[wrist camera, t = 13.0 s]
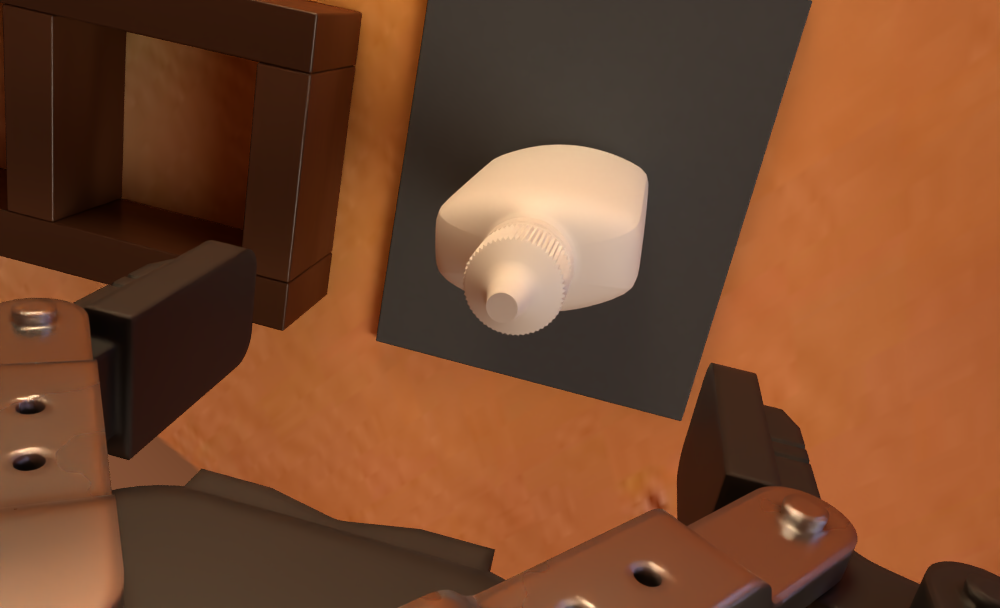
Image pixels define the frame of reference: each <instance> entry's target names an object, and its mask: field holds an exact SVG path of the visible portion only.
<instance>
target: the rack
mask: <svg viewBox="0 0 1000 608" xmlns="http://www.w3.org/2000/svg"><path fill="white" fill-rule="evenodd" d="M0 3H4V5H3V37H4V79H5V121H6V163H7V170H5V169H1V168H0V256H3V257H7V258H11V259H14V260H18V261H22V262H26V263H30V264H33V265H37V266H41V267H45V268H48V269H52V270H56V271H60V272H63V273H67V274H71V275H75V276H78V277H82V278H86V279H90V280H93V281H97V282H101V283H105V284H108V285H112V282H114V281H116V280H118V279H120V278H122V277H124V276H125V277H128V274H130V273H132V272H134V271H135V270H137V269H139V268H141V267H143V266H145V265H147V264H151V263H155V262H160V261H165V260H169V259H174V258H176V257H178V256H180V255H182V254H184V253H186V252H187V251H189V250H191V249H193V248H195V247H197V246H199V245H200V244H202V243H204V242H206V241H208V240H215V241H219V242H223V243H227V244H231V245H235V246H239V247H243V248H247V249H251V250H252V251H253V252H254V253H255V256H256V262H257V268H256V282H255V295H254V308H253V321H252V323H255V324H259V325H263V326H266V327H270V328H274V329H278V330H281V331H283V330H285V329H286V328H287V327H288V326H289V325H291V324H292V323H293V322H294V321H295V320H297V319H298V318H299V317H300V316H301V315H303V314H304V313H305V312H306V311H307V310H309V309H310V308H311V307H312V306H314V305H315V304H316V303H317V302H318V301H320V300H321V299H322V298H323V297H324V296H326V294H327V288H328V280H329V272H330V265H331V257H332V253H331V251H332V247H333V239H334V232H335V224H336V216H337V208H338V200H339V192H340V184H341V176H342V168H343V160H344V152H345V144H346V136H347V128H348V120H349V112H350V104H351V97H352V89H353V81H354V73H355V67H354V66H353V65H355V64H356V58H357V50H358V42H359V34H360V26H361V18H362V13H360V12H357V11H352V10H348V9H343V8H339V7H334V6H329V5H325V4H320V3H316V2H311V1H306V0H0ZM126 32H130V33H135V34H139V35H143V36H148V37H152V38H157V39H161V40H165V41H170V42H174V43H178V44H183V45H187V46H192V47H196V48H200V49H205V50H209V51H213V52H218V53H222V54H227V55H231V56H235V57H240V58H244V59H248V60H253V61H257V62H259V63H258V64H257V74H256V86H255V98H254V110H253V122H252V134H251V146H250V158H249V170H248V182H247V193H246V205H245V217H244V229H243V230H242V229H238V228H234V227H230V226H226V225H222V224H218V223H214V222H210V221H206V220H202V219H198V218H194V217H190V216H186V215H182V214H179V213H175V212H171V211H167V210H163V209H159V208H155V207H151V206H147V205H143V204H139V203H135V202H131V201H127V200H123V199H120V198H121V197H122V163H123V127H124V91H125V55H126Z"/></svg>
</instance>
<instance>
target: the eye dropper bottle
mask: <svg viewBox="0 0 1000 608" xmlns="http://www.w3.org/2000/svg"><path fill="white" fill-rule="evenodd" d="M647 199H648V179H647V175H646V173H645V172H644V171H643V170H642V169H641V168H640V167H638V166H637V165H635V164H633V163H632V162H630V161H627V160H625V159H623V158H621V157H618V156H616V155H613V154H611V153H608V152H605V151H601V150H597V149H593V148H588V147H583V146H575V145H543V146H535V147H530V148H525V149H520V150H517V151H513V152H510V153H507V154H504V155H502V156H499V157H497V158H495V159H493V160H492V161H491V162H490V163H489V164H487V165H486V166H485V167H484V168H483V169H482V170H480V171H479V172H478V173H477V174H476V175H475V176H473V177H472V178H471V179H470V180H469V181H468V182H467V183H466V184H464V185H463V186H462V187H461V188H460V189H459V190H458V191H457V192H456V193H454V194H453V195H452V196H451V197H450V198H449V199H448V200H447V201H446V202H445V203H444V204H443V205H442V206H441V208H440V210H439V213H438V216H437V219H436V233H435V253H436V264H437V267H438V270H439V272H440V273H441V274H442V276H443V277H444V278H445V279H446V280H448V281H449V282H451V283H452V284H454V285H455V286H457V287H459V288H460V289H462V290H464V291H465V293H464V295H465V296H466V300H467V301H468V303H467V304H468V305H469V306H470V309H471V310H473V313H474V314H475V315H476V317H477V318H479V321H482V322H483V324H484V325H487V326H488V327H490V328H492V330H496V331H497V332H501V333H502V334H504V333H506V334H507V335H509V334H511V335H515V334H516V335H518V336H519V335H520V334H521V335H524V334H529V333H530V332H531V333H534V332H535V331H539V329H543V328H544V326H548V323H551V322H552V320H553V319H555V317H556V315H558V313H559V311H566V310H573V309H579V308H584V307H588V306H592V305H596V304H600V303H603V302H606V301H609V300H612V299H614V298H616V297H618V296H621V295H623V294H625V293H626V292H627V291H629V290H630V289H631V288H632V287H633V285H634V283H635V281H636V278H637V276H638V271H639V266H640V259H641V252H642V244H643V236H644V228H645V219H646V210H647Z"/></svg>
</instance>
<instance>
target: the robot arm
mask: <svg viewBox="0 0 1000 608" xmlns="http://www.w3.org/2000/svg"><path fill="white" fill-rule="evenodd" d="M256 268H257V262H256V256H255V253H254V252H253V251H252V250H251V249H247V248H243V247H239V246H235V245H231V244H227V243H223V242H219V241H215V240H208V241H206V242H204V243H202V244H200V245H199V246H197V247H195V248H193V249H191V250H189V251H187V252H186V253H184V254H182V255H180V256H178V257H176V258H174V259H169V260H165V261H160V262H155V263H151V264H147V265H145V266H143V267H141V268H139V269H137V270H135V271H134V272H132V273H130V274H128V277H125V276H124V277H122V278H120V279H118V280H116V281H114V282H112V285H107V286H105V287H103V288H101V289H99V290H97V291H95V292H93V293H91V294H89V295H88V296H86V297H84V298H82V299H80V300H78V301H76V302H74V303H71V302H67V301H63V300H58V299H50V298H24V299H16V300H10V301H6V302H2V303H0V608H1000V577H999V576H997V575H995V574H993V573H991V572H988V571H986V570H984V569H981V568H978V567H975V566H972V565H968V564H964V563H959V562H947V561H944V562H938V563H935V564H932V565H931V566H930V567H929V568H928V569H927V571H926V573H925V575H924V577H923V579H922V581H921V583H920V584H918V583H916V582H914V581H911V580H909V579H907V578H905V577H903V576H900V575H898V574H896V573H894V572H892V571H889V570H887V569H885V568H883V567H881V566H879V565H877V564H875V563H873V562H871V561H869V560H868V559H866V558H864V557H863V556H861V555H860V554H858V553H857V552H855V551H854V548H855V546H856V544H857V533H856V530H855V528H854V527H853V525H852V524H851V522H850V521H849V520H848V519H847V518H846V517H845V516H844V515H843V514H842V513H841V512H840V511H838V510H837V509H836V508H835V507H833V506H831V505H830V504H828V503H827V502H825V501H823V500H821V498H820V494H819V491H818V488H817V484H816V481H815V478H814V474H813V471H812V468H811V464H809V458H808V454H807V451H806V449H804V448H805V444H804V441H803V437H802V434H801V431H800V428H799V427H798V426H797V425H796V424H795V423H794V422H793V421H792V419H791V418H790V417H789V416H788V415H787V414H786V413H785V412H784V411H783V410H782V409H778V408H774V407H770V406H766V405H763V401H762V396H761V392H760V387H759V383H758V379H757V375H756V374H755V373H752V372H747V371H743V370H739V369H735V368H731V367H727V366H723V365H719V364H715V363H711V364H710V365H709V367H708V369H707V372H706V374H705V377H704V380H703V383H702V387H701V390H700V393H699V396H698V400H697V403H696V406H695V409H694V413H693V416H692V419H691V422H690V426H689V429H688V432H687V435H686V438H685V442H684V445H683V449H682V453H681V457H680V462H679V467H678V474H677V519H676V518H674V517H673V516H672V515H670V514H669V513H667V512H666V511H664V510H663V509H654V510H651V511H648V512H646V513H644V514H642V515H640V516H638V517H636V518H634V519H632V520H630V521H628V522H626V523H623V524H621V525H619V526H617V527H615V528H613V529H611V530H609V531H607V532H605V533H603V534H601V535H599V536H597V537H594V538H592V539H590V540H588V541H586V542H584V543H582V544H580V545H578V546H576V547H574V548H572V549H570V550H567V551H565V552H563V553H561V554H559V555H557V556H555V557H553V558H551V559H549V560H547V561H545V562H543V563H541V564H538V565H536V566H534V567H532V568H530V569H528V570H526V571H524V572H522V573H520V574H518V575H516V576H514V577H511V578H509V579H507V580H504V579H503V578H501V577H499V576H497V575H495V574H493V573H491V572H490V570H491V565H492V561H493V556H494V552H495V550H494V549H490V548H487V547H483V546H480V545H476V544H472V543H469V542H465V541H462V540H458V539H454V538H451V537H447V536H443V535H440V534H436V533H433V532H429V531H425V530H422V529H414V528H404V527H394V526H385V525H375V524H365V523H356V522H346V521H340V520H337V519H334V518H331V517H329V516H327V515H325V514H323V513H321V512H319V511H317V510H315V509H313V508H311V507H309V506H307V505H305V504H303V503H301V502H299V501H297V500H295V499H293V498H291V497H289V496H287V495H285V494H283V493H281V492H279V491H277V490H275V489H273V488H270V487H266V486H263V485H259V484H255V483H252V482H248V481H244V480H241V479H237V478H234V477H230V476H226V475H223V474H219V473H216V472H212V471H208V470H205V469H201V470H200V471H199V472H198V473H197V474H196V475H195V476H194V477H193V478H192V479H191V480H190V481H189V482H188V483H187V484H186V485H185V486H168V485H153V486H137V487H129V488H121V489H116V490H111V481H110V471H109V462H108V454H109V455H112V456H116V457H120V458H123V459H127V460H130V459H131V458H132V457H133V456H134V455H135V454H137V453H138V452H139V451H140V450H141V449H142V448H144V446H146V445H147V444H148V443H149V442H150V441H152V440H153V439H154V438H155V437H156V436H157V435H159V434H160V433H161V432H162V431H163V430H164V429H165V428H167V427H168V426H169V425H170V424H171V423H172V422H174V421H175V420H176V419H177V418H178V417H179V416H180V415H182V414H183V413H184V412H185V411H186V410H187V409H189V408H190V407H191V406H192V405H193V404H194V403H195V402H197V401H198V400H199V399H200V398H201V397H202V396H204V395H205V394H206V393H207V392H208V391H209V390H211V389H212V388H213V387H214V386H215V385H216V384H217V383H219V382H220V381H221V380H222V379H223V378H224V377H226V376H227V375H228V374H229V373H230V372H231V371H232V370H234V369H235V368H236V367H237V366H238V365H239V364H240V363H241V361H242V360H243V358H244V356H245V354H246V352H247V349H248V346H249V343H250V339H251V333H252V321H253V308H254V295H255V282H256Z"/></svg>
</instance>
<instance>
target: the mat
mask: <svg viewBox="0 0 1000 608" xmlns="http://www.w3.org/2000/svg"><path fill="white" fill-rule="evenodd" d="M811 4H812V1H811V0H428V3H427V10H426V16H425V23H424V29H423V36H422V42H421V49H420V56H419V62H418V69H417V75H416V82H415V88H414V95H413V101H412V108H411V115H410V121H409V128H408V134H407V141H406V147H405V154H404V160H403V167H402V174H401V180H400V187H399V193H398V200H397V206H396V213H395V219H394V226H393V233H392V239H391V246H390V252H389V259H388V265H387V272H386V278H385V285H384V291H383V298H382V305H381V311H380V318H379V324H378V331H377V337H376V341H379V342H383V343H387V344H390V345H394V346H398V347H402V348H406V349H409V350H413V351H417V352H421V353H424V354H428V355H432V356H436V357H440V358H443V359H447V360H451V361H455V362H459V363H462V364H466V365H470V366H474V367H478V368H481V369H485V370H489V371H493V372H496V373H500V374H504V375H508V376H512V377H515V378H519V379H523V380H527V381H531V382H534V383H538V384H542V385H546V386H550V387H553V388H557V389H561V390H565V391H568V392H572V393H576V394H580V395H584V396H587V397H591V398H595V399H599V400H603V401H606V402H610V403H614V404H618V405H622V406H625V407H629V408H633V409H637V410H641V411H644V412H648V413H652V414H656V415H659V416H663V417H667V418H671V419H675V420H678V421H681V420H682V417H683V414H684V411H685V407H686V404H687V401H688V398H689V395H690V391H691V388H692V385H693V382H694V379H695V375H696V372H697V369H698V366H699V362H700V359H701V356H702V353H703V350H704V346H705V343H706V340H707V337H708V334H709V330H710V327H711V324H712V321H713V318H714V314H715V311H716V308H717V305H718V302H719V298H720V295H721V292H722V289H723V286H724V282H725V279H726V276H727V273H728V270H729V266H730V263H731V260H732V257H733V254H734V250H735V247H736V244H737V241H738V238H739V234H740V231H741V228H742V225H743V221H744V218H745V215H746V212H747V209H748V205H749V202H750V199H751V196H752V193H753V189H754V186H755V183H756V180H757V177H758V173H759V170H760V167H761V164H762V161H763V157H764V154H765V151H766V148H767V145H768V141H769V138H770V135H771V132H772V129H773V125H774V122H775V119H776V116H777V113H778V109H779V106H780V103H781V100H782V97H783V93H784V90H785V87H786V84H787V80H788V77H789V74H790V71H791V68H792V64H793V61H794V58H795V55H796V52H797V48H798V45H799V42H800V39H801V36H802V32H803V29H804V26H805V23H806V20H807V16H808V13H809V10H810V7H811ZM543 145H575V146H583V147H588V148H593V149H597V150H601V151H605V152H608V153H611V154H613V155H616V156H618V157H621V158H623V159H625V160H627V161H630V162H632V163H633V164H635V165H637V166H638V167H640V168H641V169H642V170H643V171H644V172H645V173H646V175H647V179H648V199H647V210H646V219H645V228H644V236H643V244H642V252H641V259H640V266H639V271H638V276H637V278H636V281H635V283H634V285H633V287H632V288H631V289H630V290H629V291H627V292H626V293H625V294H623V295H621V296H618V297H616V298H614V299H612V300H609V301H606V302H603V303H600V304H596V305H592V306H588V307H584V308H579V309H573V310H566V311H559V313H558V315H556V317H555V319H553V320H552V322H551V323H548V326H544V328H543V329H539V331H535V332H534V333H531V332H530V333H529V334H524V335H521V334H520V335H519V336H518V335H516V334H515V335H511V334H509V335H507V334H506V333H504V334H502V333H501V332H497V331H496V330H492V328H490V327H488V326H487V325H484V324H483V322H482V321H479V318H477V317H476V315H475V314H474V313H473V310H471V309H470V306H469V305H468V304H467V303H468V301H467V300H466V296H465V295H464V293H465V291H464V290H462V289H460V288H459V287H457V286H455V285H454V284H452V283H451V282H449V281H448V280H446V279H445V278H444V277H443V276H442V274H441V273H440V272H439V270H438V267H437V264H436V253H435V233H436V219H437V216H438V213H439V210H440V208H441V206H442V205H443V204H444V203H445V202H446V201H447V200H448V199H449V198H450V197H451V196H452V195H453V194H454V193H456V192H457V191H458V190H459V189H460V188H461V187H462V186H463V185H464V184H466V183H467V182H468V181H469V180H470V179H471V178H472V177H473V176H475V175H476V174H477V173H478V172H479V171H480V170H482V169H483V168H484V167H485V166H486V165H487V164H489V163H490V162H491V161H492V160H493V159H495V158H497V157H499V156H502V155H504V154H507V153H510V152H513V151H517V150H520V149H525V148H530V147H535V146H543Z"/></svg>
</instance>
